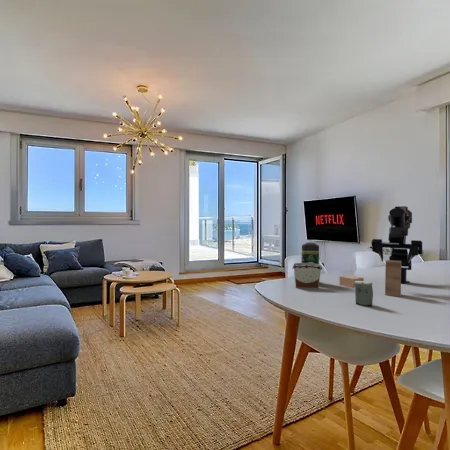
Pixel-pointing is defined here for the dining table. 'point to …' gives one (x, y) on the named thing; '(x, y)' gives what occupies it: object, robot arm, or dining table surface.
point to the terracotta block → (349, 280)
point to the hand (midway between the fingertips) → (394, 261)
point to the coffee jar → (310, 253)
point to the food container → (307, 275)
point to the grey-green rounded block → (363, 293)
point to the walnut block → (393, 278)
